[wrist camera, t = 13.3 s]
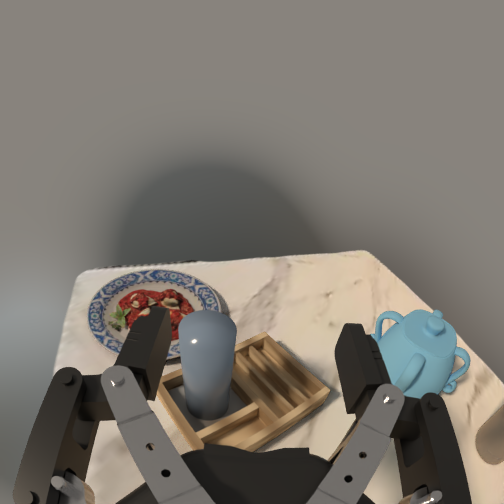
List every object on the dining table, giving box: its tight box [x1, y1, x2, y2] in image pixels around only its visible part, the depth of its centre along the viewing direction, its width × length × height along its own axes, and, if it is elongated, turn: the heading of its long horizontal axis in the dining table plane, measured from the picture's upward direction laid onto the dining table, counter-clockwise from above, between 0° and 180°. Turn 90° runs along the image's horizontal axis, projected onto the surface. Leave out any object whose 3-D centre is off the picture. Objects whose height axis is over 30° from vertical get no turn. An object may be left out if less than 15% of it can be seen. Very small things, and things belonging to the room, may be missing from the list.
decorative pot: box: [370, 310, 470, 399], centre depth 41 cm, size 16×16×14 cm
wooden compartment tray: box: [156, 332, 330, 452], centre depth 38 cm, size 20×15×4 cm
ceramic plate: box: [87, 269, 221, 360], centre depth 52 cm, size 26×26×3 cm
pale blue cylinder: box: [178, 310, 237, 421], centre depth 33 cm, size 6×6×15 cm
